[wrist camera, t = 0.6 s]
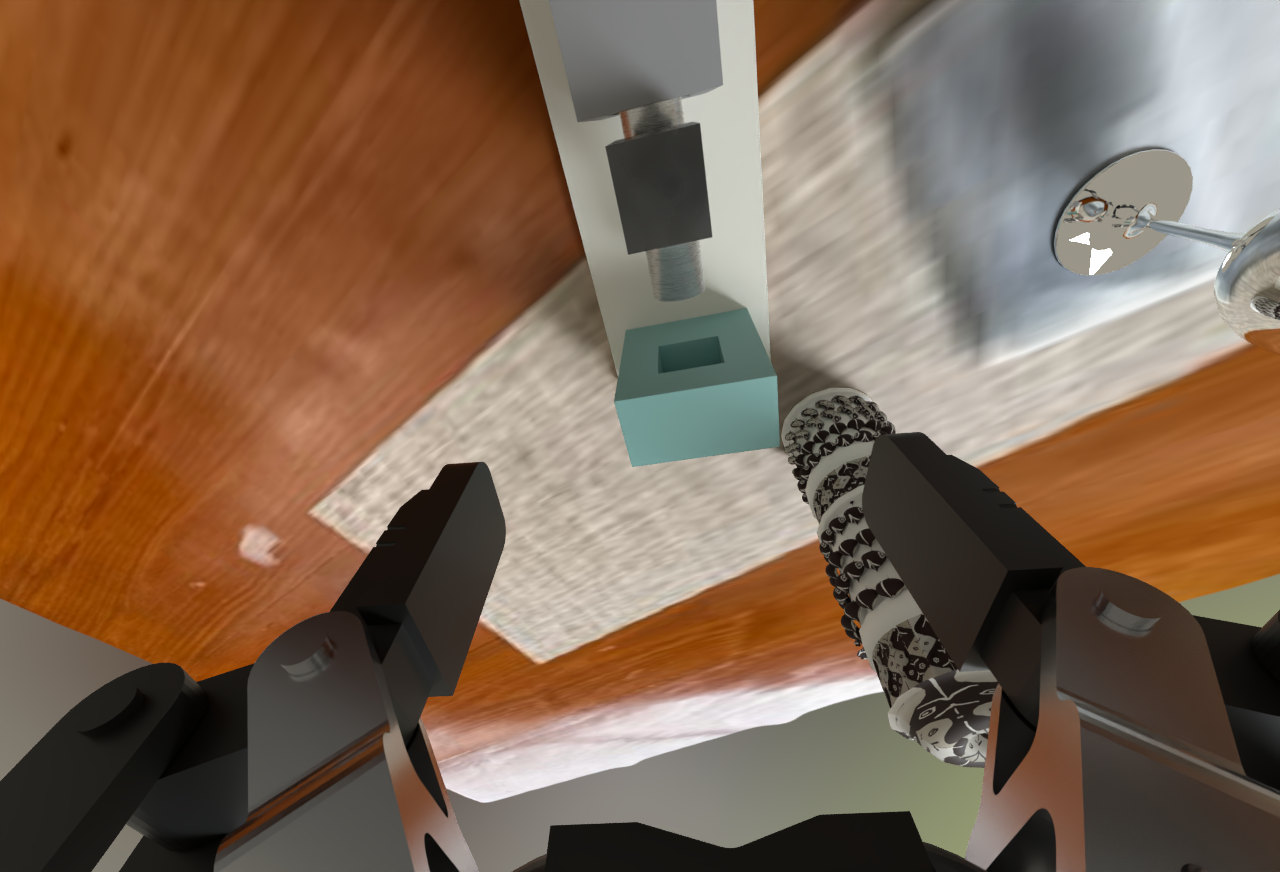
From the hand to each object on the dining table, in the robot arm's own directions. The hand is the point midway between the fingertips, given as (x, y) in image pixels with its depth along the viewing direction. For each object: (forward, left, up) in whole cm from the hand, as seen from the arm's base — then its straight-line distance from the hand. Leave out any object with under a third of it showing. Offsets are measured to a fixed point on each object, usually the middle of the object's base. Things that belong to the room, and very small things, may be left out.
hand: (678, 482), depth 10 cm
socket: (+9, 0, -25) cm, 27 cm away
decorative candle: (+19, +11, -27) cm, 35 cm away
